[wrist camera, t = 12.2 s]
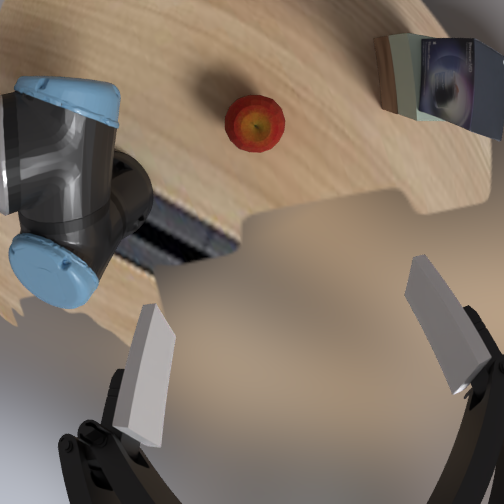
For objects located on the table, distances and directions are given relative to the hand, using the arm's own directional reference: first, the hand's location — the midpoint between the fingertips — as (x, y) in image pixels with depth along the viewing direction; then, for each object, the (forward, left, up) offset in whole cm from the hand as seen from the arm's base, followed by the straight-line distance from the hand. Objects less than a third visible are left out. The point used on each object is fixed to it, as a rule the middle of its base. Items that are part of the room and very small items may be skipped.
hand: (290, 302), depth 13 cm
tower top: (+25, +9, -27) cm, 38 cm away
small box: (+25, +9, -22) cm, 35 cm away
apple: (0, +4, -32) cm, 32 cm away
